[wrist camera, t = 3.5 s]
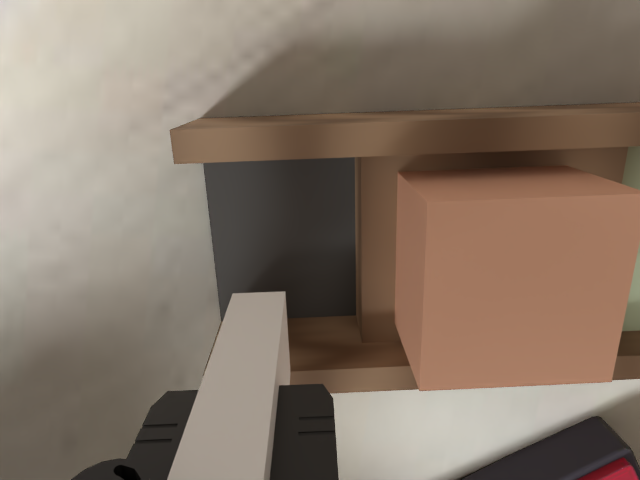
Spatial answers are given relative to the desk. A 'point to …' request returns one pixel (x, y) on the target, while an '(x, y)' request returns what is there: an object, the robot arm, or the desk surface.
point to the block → (513, 275)
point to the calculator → (569, 457)
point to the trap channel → (372, 214)
